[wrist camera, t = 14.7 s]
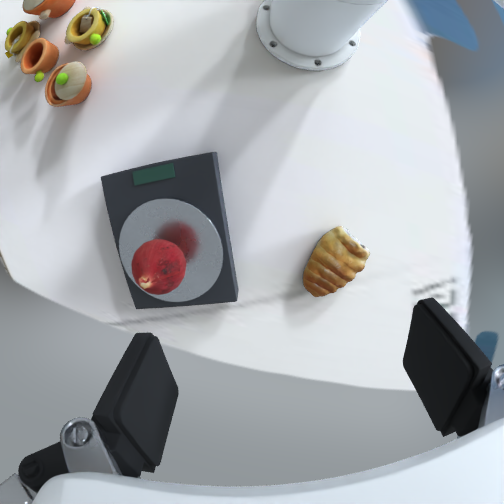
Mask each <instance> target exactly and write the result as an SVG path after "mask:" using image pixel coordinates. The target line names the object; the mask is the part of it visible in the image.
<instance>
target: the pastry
mask: <svg viewBox="0 0 504 504" xmlns="http://www.w3.org/2000/svg"><path fill="white" fill-rule="evenodd" d="M369 255H370V252H369V250H368V249H367V247H365V246H363V245H362V243H361V242H360V241H359V240H358V239H356V238H355V237H353V236H351V234H350V232H349V230H347V229H346V228H345V227H342V226H338V227H336V228H334V229H332V230H330V231H329V232H327V233H326V234H324V235H323V236H322V238H321V239H320V240H319V241H318V243H317V245H316V247H315V249H314V251H313V252H312V254H311V256H310V259H309V261H308V263H307V265H306V268H305V270H304V273H303V285H304V287H305V289H306V290H307V291H309V292H310V293H311V294H312V295H313V296H314V297H319V296H325V295H327V294H329V293H334V292H336V290H337V289H338V288H341V287H344V286H345V285H346V283H347V282H350V281H352V280H353V279H354V278H355V275H356V273H357V272H361V271H362V270H363V269H364V267H365V262H366V260H367V259H368V257H369Z"/></svg>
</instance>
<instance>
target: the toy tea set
mask: <svg viewBox="0 0 504 504" xmlns="http://www.w3.org/2000/svg"><path fill="white" fill-rule="evenodd" d="M74 2H75V0H24V1H23V10H24V12H26V13H28V14H33V15H40V16H39V18H40V19H41V20H45V19H47V18H48V17H50V18H56V17H59V16H61V15H63V14H64V13H66V12H67V11H68V10H69V9H70V8H71V7H72V5H73V4H74ZM96 9H99V10H96ZM113 23H114V19H113V16H112V14H111V13H110V12H109V11H107V10H101V9H100V8H99V7H93V8H90V7H86V8H84V9H83V11H81V12H80V13H78V14H77V15H76V16H75V17H74V18H73V19H72V20H71V22H70V23H69V25H68V27H67V31H66V37H65V43H66V44H70V43H72V42H73V44H74V46H75V47H76V48H78V49H80V50H90V49H93V48H95V47H97V46H98V45H100V44H101V43H102V42H103V41H104V40H105V39H106V38H107V37H108V35H109V34H110V32H111V30H112V27H113ZM6 34H7V35H8V36H7V38H6V41H5V49H6V50H7V51H8V52H6V53H5V54H6V56H7V57H8V58H10V57H11V56H14V55H15V56H16V60H15V61H16V62H18V63H19V62H20V61H21V70H22V72H23V73H25V74H36V75H35V81H36V82H40V81H42V80H43V78H44V74H43V73H46V72H48V71H50V70H51V69H52V68H53V67H54V65H55V64H56V62H57V60H58V56H59V50H58V48H57V47H56V46H55V45H53V44H52V43H50V42H49V41H47V40H46V39H44V38H41V37H40V38H39V36H40V24H39V22H37V21H31V22H29V23H27V22H25V21H21V22H19V23H17V24H16V25H15V26H14V27H13V28H9V29H8V30H7V33H6ZM90 90H91V79H90V77H89V75H88V74H87V72H86V68H85V66H84V65H83V64H82V63H80V62H71V63H69V64H68V63H66V64H62V65H60V66H59V67H57V68H56V69H55V70H54V71H53V72H52V73H51V75H50V77H49V78H48V81H47V83H46V87H45V97H46V100H47V102H48V103H49V104H50V105H51V106H54V107H60V106H67V105H75V104H79V103H81V102H82V101H84V100H85V99H86V97H87V96H88V94H89V92H90Z"/></svg>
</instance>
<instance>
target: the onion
mask: <svg viewBox="0 0 504 504" xmlns="http://www.w3.org/2000/svg"><path fill="white" fill-rule="evenodd" d="M131 266H132V275H133V277H134V279H135V282H136V283H137V284H138V285H139V286H140V287H141V288H142V289H143V290H144V291H146V292H148V293H150V294H155V295H162V294H167V293H169V292H171V291H172V290H174V289H176V288H177V287H178V286H179V285H180V283H181V282H182V280H183V278H184V276H185V271H186V260H185V257H184V254H183V252H182V251H181V250H180V249H179V247H178V246H177V245H176V244H174V243H172V242H170V241H168V240H164V239H154V240H151V241H148V242H145V243H143V244H142V245H141V246H140V247H139V248H138V249H137V250H136V251H135V253H134V256H133V259H132V262H131Z"/></svg>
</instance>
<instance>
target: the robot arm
mask: <svg viewBox="0 0 504 504" xmlns="http://www.w3.org/2000/svg"><path fill="white" fill-rule="evenodd" d="M387 1H388V0H265V1H264V2H263V3H262V4H261V6H260V8H259V10H258V13H257V18H256V27H257V32H258V35H259V37H260V40H261V42H262V43H263V45H264V46H265V47H266V49H267V50H268V51H269V52H270V53H271V54H272V55H274V56H275V57H276V58H278V59H279V60H281V61H283V62H285V63H287V64H289V65H291V66H294V67H297V68H300V69H306V70H326V69H331V68H334V67H337V66H339V65H341V64H342V63H344V62H346V61H347V60H348V59H349V58H350V57H351V56H352V55H353V54H354V53H355V51H356V50H357V48H358V45H359V41H360V28H361V27H362V26H363V25H364V24H365V23H366V22H367V21H368V20H369V19H370V18H371V17H372V15H373V14H375V13H376V12H377V11H378V10H379V9H380V8H381V7H382V6H383V5H384V4H385V3H386V2H387ZM494 1H495V2H496V3H497V4H499V5H500V6H501V7H502V8H503V9H504V0H494ZM266 9H267V10H266ZM349 44H351V45H352V46H350V45H349ZM271 45H274V46H275V47H271ZM315 63H318V66H317V65H315ZM491 365H492V363H491V362H490V360H489V359H488V358H487V357H486V355H485V354H484V353H483V352H482V351H481V350H480V348H479V347H478V346H477V345H476V344H475V342H474V341H473V340H472V339H471V338H470V337H469V336H468V334H467V333H466V332H465V331H464V330H463V329H462V328H461V327H460V325H459V324H458V323H457V322H456V321H455V320H454V319H453V318H452V317H451V316H450V315H449V314H448V312H447V311H446V310H445V309H444V308H443V307H442V306H441V305H440V304H439V303H438V302H437V301H436V300H435V299H434V298H427V299H423V300H419V301H418V303H417V305H415V306H414V308H413V314H412V320H411V325H410V330H409V335H408V340H407V344H406V349H405V353H404V357H403V366H404V369H405V370H406V372H407V374H408V376H409V378H410V380H411V381H412V383H413V385H414V387H415V389H416V391H417V393H418V395H419V397H420V398H421V400H422V402H423V404H424V406H425V408H426V410H427V412H428V414H429V416H430V418H431V420H432V422H433V424H434V426H435V428H436V430H438V431H441V433H442V435H443V437H444V436H446V435H449V434H451V433H453V432H455V431H456V433H457V435H458V437H457V439H455V440H453V441H451V442H449V443H446V444H444V445H441V446H439V447H436V448H434V449H431V450H429V451H426V452H424V453H421V454H418V455H416V456H413V457H410V458H407V459H404V460H401V461H398V462H395V463H391V464H388V465H385V466H381V467H377V468H374V469H370V470H366V471H362V472H357V473H354V474H349V475H344V476H339V477H333V478H328V479H322V480H316V481H308V482H300V483H292V484H282V485H269V486H268V485H266V486H240V487H239V486H238V487H237V486H234V487H233V486H232V487H231V486H202V485H189V484H178V483H168V482H159V481H153V480H145V479H141V478H140V475H141V471H145V472H152V473H154V470H155V467H156V466H159V465H160V462H161V459H162V455H163V450H164V446H165V443H166V439H167V435H168V431H169V427H170V424H171V420H172V416H173V413H174V409H175V405H176V401H177V397H178V387H177V384H176V382H175V379H174V377H173V375H172V372H171V370H170V368H169V365H168V362H167V360H166V357H165V355H164V353H163V350H162V347H161V344H160V342H159V339H158V338H157V337H156V336H154V335H153V334H152V333H136V334H135V335H134V337H133V339H132V341H131V343H130V344H129V346H128V348H127V350H126V351H125V353H124V355H123V357H122V359H121V361H120V363H119V364H118V366H117V368H116V370H115V372H114V373H113V375H112V377H111V379H110V381H109V383H108V385H107V387H106V389H105V391H104V393H103V394H102V396H101V398H100V400H99V402H98V404H97V406H96V408H95V410H94V412H93V416H92V419H91V420H90V419H89V418H85V417H78V418H74V419H72V420H70V421H69V422H67V423H66V424H65V425H64V427H63V428H62V430H61V433H60V442H58V443H56V444H54V445H51V446H49V447H47V448H45V449H42V450H40V451H38V452H35V453H33V454H31V455H28V456H27V457H25V458H24V459H23V460H22V461H21V463H20V465H19V470H18V471H19V475H17V474H15V473H14V474H13V475H12V476H10V477H9V478H8V479H7V480H5V481H4V482H3V483H2V484H0V504H504V364H503V365H499V366H498V367H496V368H495V369H494V370H492V368H491Z"/></svg>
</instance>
